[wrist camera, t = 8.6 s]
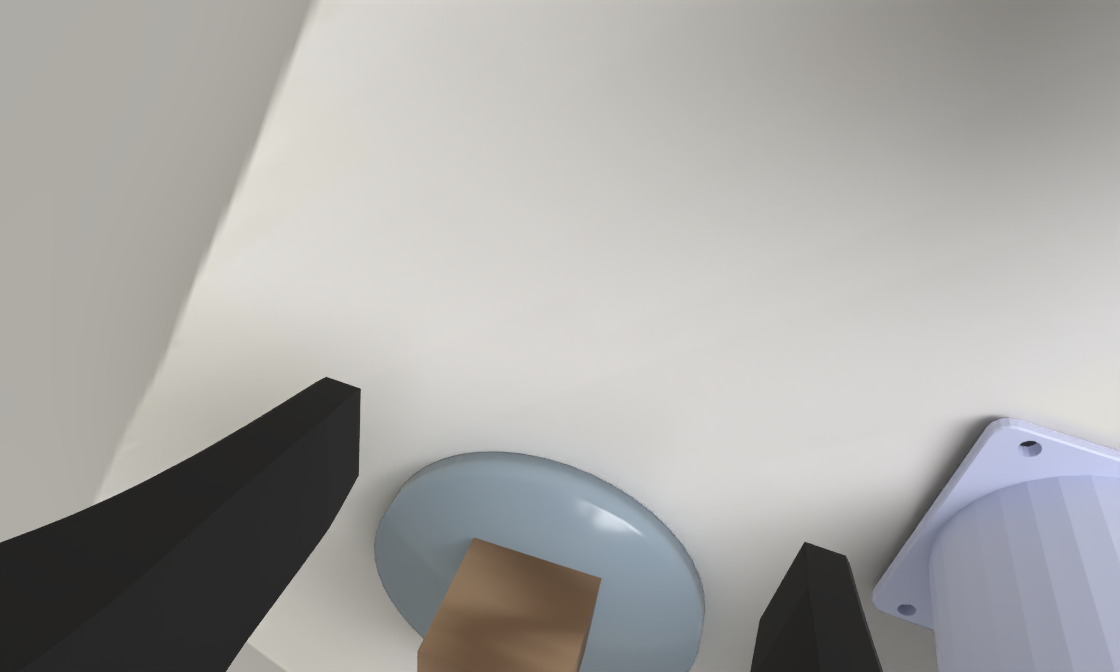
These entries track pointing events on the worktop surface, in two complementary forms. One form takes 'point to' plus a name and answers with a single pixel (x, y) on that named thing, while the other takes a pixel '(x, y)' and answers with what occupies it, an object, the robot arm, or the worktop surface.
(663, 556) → the slate dish
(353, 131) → the worktop surface
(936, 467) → the worktop surface
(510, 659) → the walnut block
